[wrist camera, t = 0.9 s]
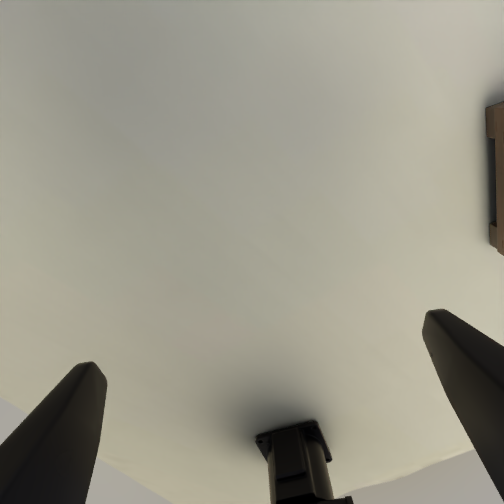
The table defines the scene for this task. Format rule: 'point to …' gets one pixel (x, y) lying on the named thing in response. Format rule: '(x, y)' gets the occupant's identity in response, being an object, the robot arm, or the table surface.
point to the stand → (497, 171)
